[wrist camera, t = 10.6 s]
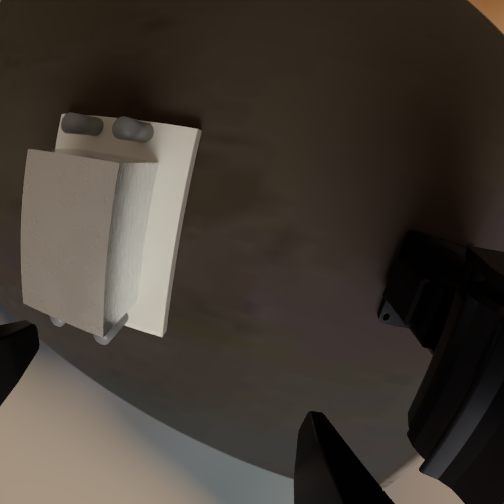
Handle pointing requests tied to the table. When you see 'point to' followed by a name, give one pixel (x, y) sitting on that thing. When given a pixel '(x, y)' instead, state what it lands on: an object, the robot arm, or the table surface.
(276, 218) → the table surface
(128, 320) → the pin tray
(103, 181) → the block
